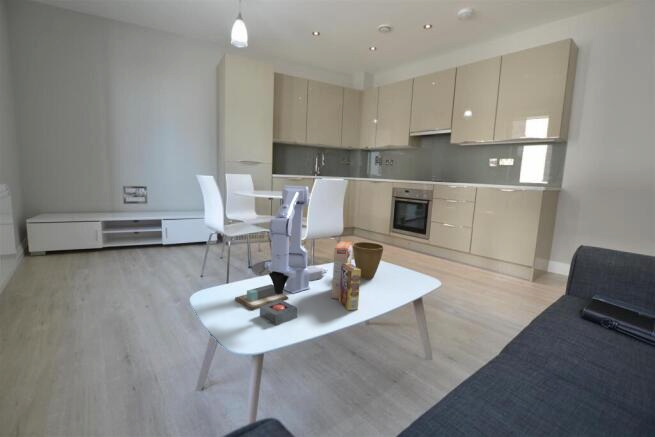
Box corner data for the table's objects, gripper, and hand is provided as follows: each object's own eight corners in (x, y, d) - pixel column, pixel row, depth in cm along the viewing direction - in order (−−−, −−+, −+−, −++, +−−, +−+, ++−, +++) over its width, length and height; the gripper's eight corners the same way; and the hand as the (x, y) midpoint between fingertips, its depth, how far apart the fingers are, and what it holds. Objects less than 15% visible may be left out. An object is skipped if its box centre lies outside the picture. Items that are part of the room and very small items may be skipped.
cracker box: (346, 300, 123) (349, 248, 120) (331, 298, 124) (333, 247, 121) (350, 288, 136) (353, 241, 134) (337, 287, 138) (339, 240, 135)
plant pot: (348, 279, 149) (349, 246, 146) (354, 270, 163) (356, 240, 161) (379, 283, 144) (381, 250, 142) (383, 274, 158) (385, 243, 156)
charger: (332, 277, 152) (306, 282, 142) (320, 272, 159) (295, 276, 150) (332, 267, 151) (306, 272, 142) (321, 263, 158) (295, 267, 149)
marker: (273, 291, 126) (273, 283, 125) (278, 293, 123) (278, 285, 123) (246, 298, 117) (246, 290, 117) (251, 301, 115) (251, 293, 114)
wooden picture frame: (270, 290, 130) (270, 287, 130) (288, 299, 122) (288, 296, 121) (234, 300, 118) (234, 296, 118) (252, 310, 110) (252, 306, 110)
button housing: (281, 309, 112) (281, 299, 112) (297, 317, 106) (297, 307, 106) (259, 316, 106) (259, 306, 106) (275, 325, 100) (275, 315, 99)
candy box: (359, 309, 115) (361, 269, 113) (348, 310, 113) (350, 270, 111) (348, 300, 123) (350, 262, 121) (338, 301, 122) (340, 263, 120)
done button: (279, 309, 109) (279, 303, 108) (286, 313, 106) (287, 307, 106) (270, 312, 106) (270, 306, 106) (277, 316, 103) (277, 310, 103)
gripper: (257, 251, 105) (256, 289, 107) (283, 260, 95) (282, 303, 97) (274, 248, 110) (273, 285, 112) (301, 257, 100) (300, 297, 102)
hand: (279, 293), depth 105 cm, fingers closed
